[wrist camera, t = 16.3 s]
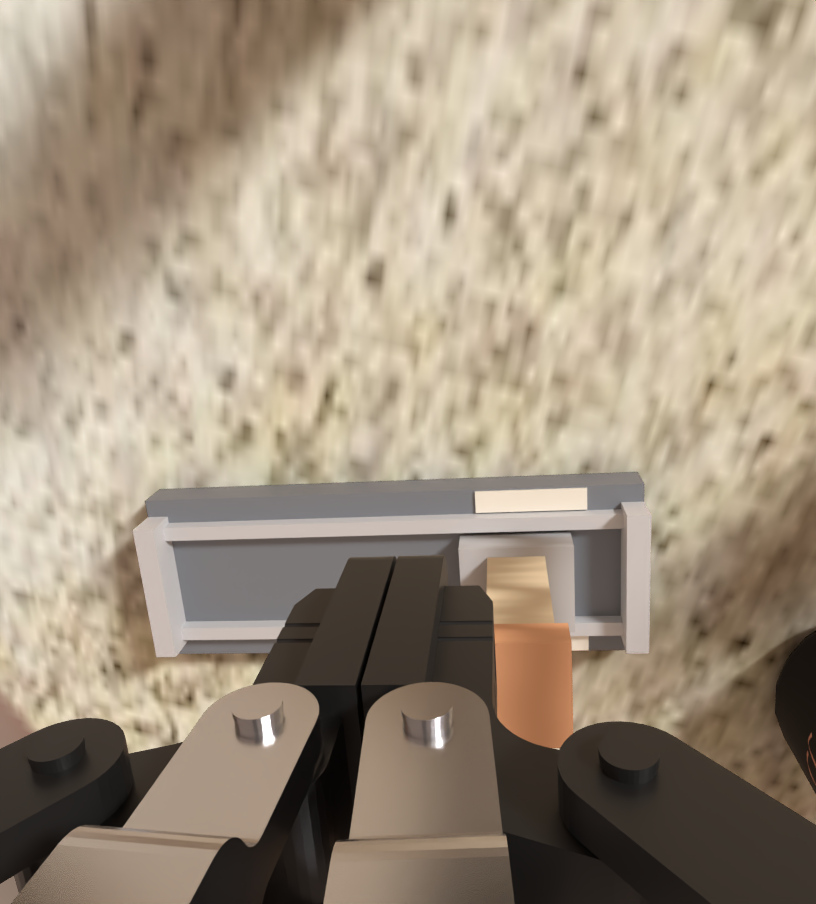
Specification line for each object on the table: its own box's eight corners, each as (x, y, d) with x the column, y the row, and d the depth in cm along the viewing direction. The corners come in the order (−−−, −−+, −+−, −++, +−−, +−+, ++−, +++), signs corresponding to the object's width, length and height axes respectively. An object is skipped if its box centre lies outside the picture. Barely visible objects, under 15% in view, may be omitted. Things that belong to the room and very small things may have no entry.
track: (185, 636, 49) (159, 672, 45) (159, 489, 46) (129, 513, 42) (636, 631, 46) (648, 669, 42) (637, 472, 43) (651, 496, 39)
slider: (465, 615, 44) (454, 747, 33) (460, 534, 42) (447, 643, 32) (571, 614, 43) (597, 748, 32) (570, 531, 42) (596, 642, 31)
